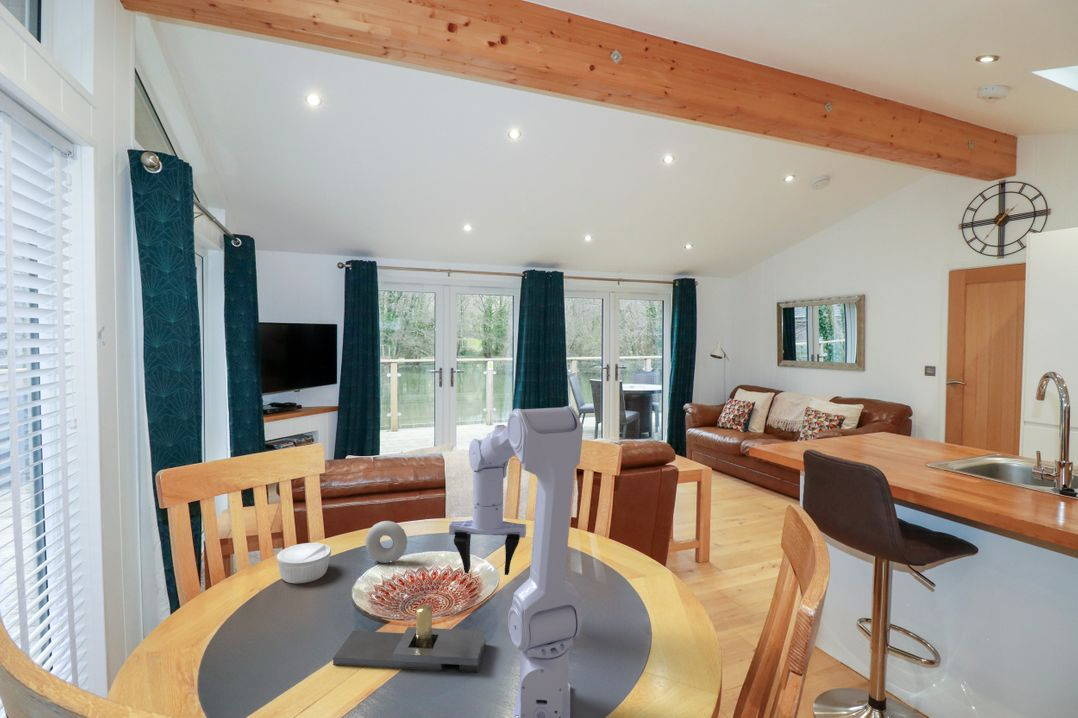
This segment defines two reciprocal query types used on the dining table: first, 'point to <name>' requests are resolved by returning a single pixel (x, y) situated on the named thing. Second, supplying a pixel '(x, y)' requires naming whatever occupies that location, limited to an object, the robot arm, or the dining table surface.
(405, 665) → the link
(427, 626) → the pin
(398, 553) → the donut
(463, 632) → the link
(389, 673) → the dining table surface
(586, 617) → the dining table surface
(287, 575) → the ramekin
